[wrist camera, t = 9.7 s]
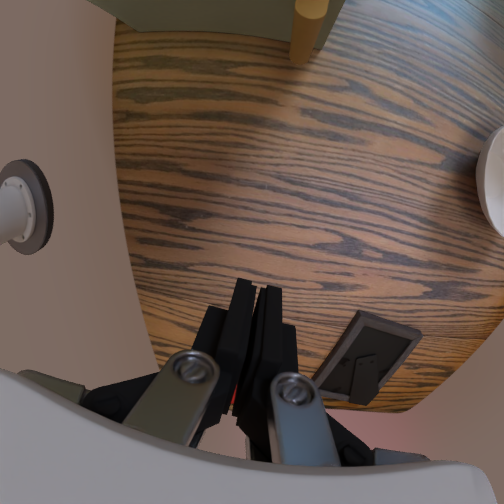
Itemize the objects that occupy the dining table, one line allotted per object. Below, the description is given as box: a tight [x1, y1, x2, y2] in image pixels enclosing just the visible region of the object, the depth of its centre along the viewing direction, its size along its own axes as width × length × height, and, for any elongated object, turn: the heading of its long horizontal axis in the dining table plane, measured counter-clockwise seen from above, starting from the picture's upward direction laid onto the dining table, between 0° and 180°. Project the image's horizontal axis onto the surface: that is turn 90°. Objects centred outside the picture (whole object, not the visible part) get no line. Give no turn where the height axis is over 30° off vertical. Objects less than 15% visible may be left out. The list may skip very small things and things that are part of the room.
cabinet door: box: [87, 0, 345, 65], centre depth 15 cm, size 7×24×26 cm, turn 78°
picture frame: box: [311, 310, 423, 406], centre depth 42 cm, size 13×2×18 cm
